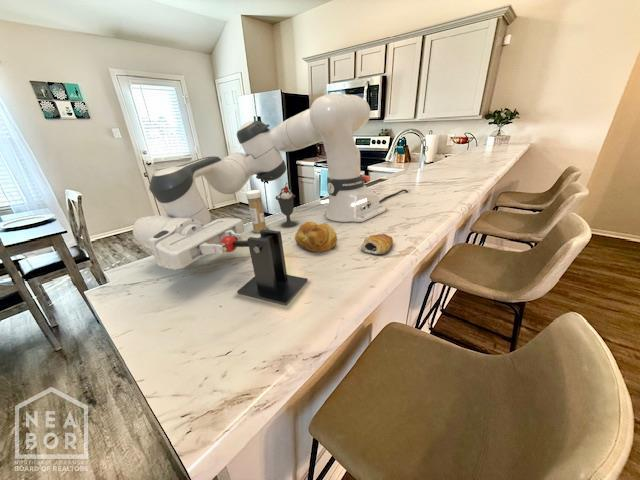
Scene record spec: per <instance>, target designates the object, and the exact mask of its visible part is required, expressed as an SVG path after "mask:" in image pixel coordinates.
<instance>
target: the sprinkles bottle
mask: <svg viewBox="0 0 640 480" xmlns="http://www.w3.org/2000/svg"><path fill="white" fill-rule="evenodd" d="M245 196H246V199H247V203H248V210H249V214H250V215H249V216H250V220H251V224H252V231H253V232H254V233H256V234H257V233H259V234H260V231H261V230H262V229H265V230H268V228H267V225H266V218H265V217H266V216H265V212H264V207H263V203H262V192H261V190H259V189H253V190H248V191H246V192H245Z"/></svg>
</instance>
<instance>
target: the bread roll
mask: <svg viewBox="0 0 640 480" xmlns="http://www.w3.org/2000/svg"><path fill="white" fill-rule="evenodd" d="M294 241H295V243H296V244H297V245H298V246H300V247H301V248H302V249H305V251H308V252H311V253H316V254H320V253H325V252H329V251H330V250H332V249H333V248H334V247H335V246H336V245H337V243H338V235H337V232H336V231H335V230H334V228H333V227H332V226H331V225H329V224H327V223H321V224H320V223H319V224H318V223H317V222H314V221H306V222H305V223H303V224H301V225H300V226H299V227H298V229H297V231H296V233H295V234H294Z"/></svg>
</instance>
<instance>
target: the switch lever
mask: <svg viewBox="0 0 640 480" xmlns="http://www.w3.org/2000/svg"><path fill="white" fill-rule="evenodd" d="M258 238H262V239H269V242H270V248H271V250H272V249H273V248H274V247H276V245H275V241H274V238H273V235H272V236H261V235H260V236H259V237H258ZM220 243H225V244H226V248H227V250H226V251H225V252H224V253H233V252H235V251H236V250H237V249H238V248H249V245H248V240H242V241H237V240H236V238H235V237H233V236H225V237H223V238H222V240H221V242H220Z"/></svg>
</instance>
